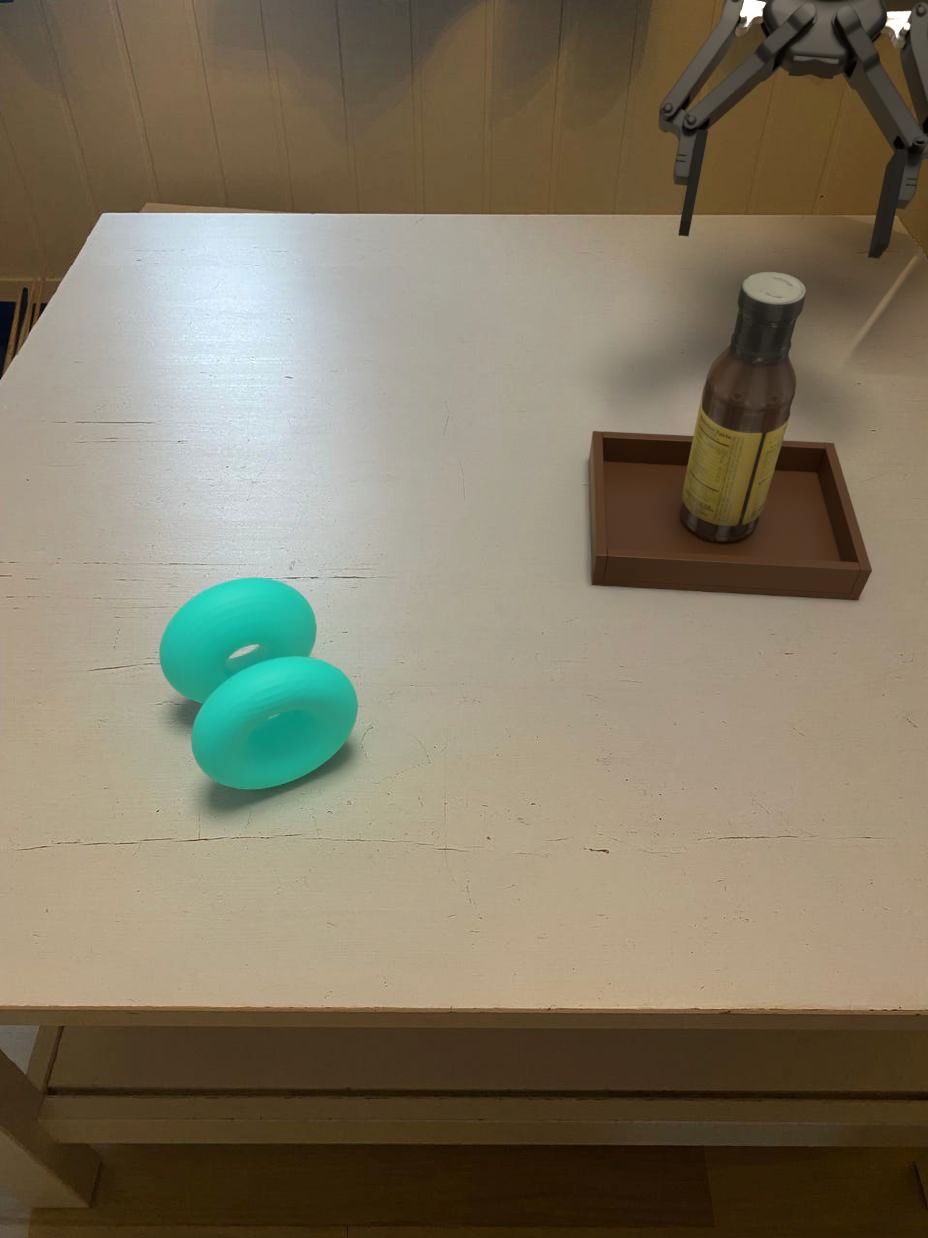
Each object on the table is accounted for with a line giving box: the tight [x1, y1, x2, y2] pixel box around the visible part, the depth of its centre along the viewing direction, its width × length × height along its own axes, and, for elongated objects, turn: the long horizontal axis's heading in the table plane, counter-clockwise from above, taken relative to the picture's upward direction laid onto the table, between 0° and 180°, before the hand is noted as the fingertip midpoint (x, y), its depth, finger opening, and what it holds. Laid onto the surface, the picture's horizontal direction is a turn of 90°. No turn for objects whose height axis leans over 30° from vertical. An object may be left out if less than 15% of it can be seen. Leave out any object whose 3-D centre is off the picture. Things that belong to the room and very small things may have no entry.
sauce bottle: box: [681, 271, 807, 542], centre depth 67 cm, size 6×6×20 cm
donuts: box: [158, 576, 359, 790], centre depth 58 cm, size 10×10×10 cm
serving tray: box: [588, 430, 873, 600], centre depth 74 cm, size 20×15×3 cm
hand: (779, 240), depth 68 cm, fingers open, 13 cm apart
